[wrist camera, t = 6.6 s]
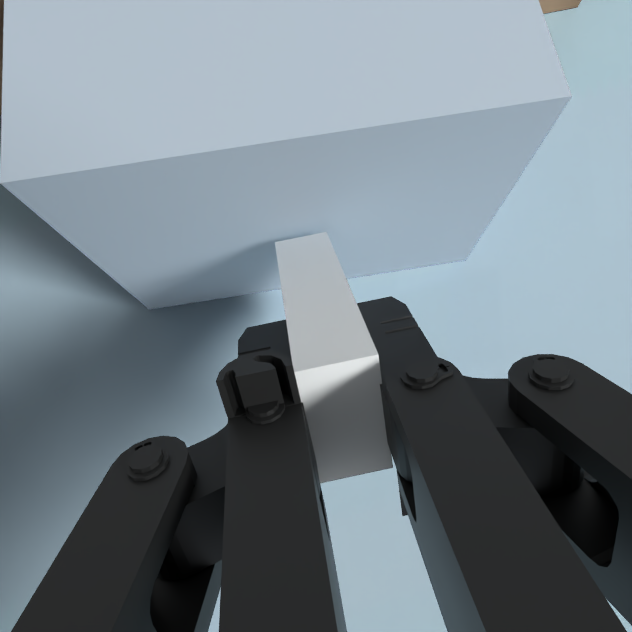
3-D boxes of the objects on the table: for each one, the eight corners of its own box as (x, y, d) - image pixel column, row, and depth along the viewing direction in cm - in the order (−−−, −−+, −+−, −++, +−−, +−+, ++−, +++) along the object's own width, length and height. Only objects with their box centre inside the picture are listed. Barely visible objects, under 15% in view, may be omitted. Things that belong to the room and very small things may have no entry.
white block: (421, 85, 22) (479, -167, 13) (465, 260, 19) (571, 96, 11) (137, 128, 21) (6, -98, 13) (149, 309, 19) (-1, 183, 11)
